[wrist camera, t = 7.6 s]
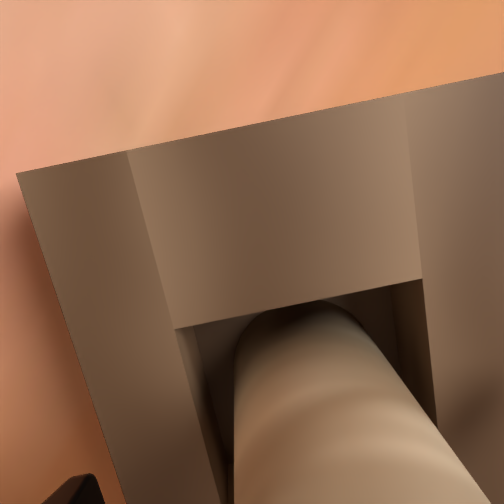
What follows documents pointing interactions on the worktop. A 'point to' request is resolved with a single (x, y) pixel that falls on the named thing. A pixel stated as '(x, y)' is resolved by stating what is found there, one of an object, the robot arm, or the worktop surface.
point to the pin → (333, 419)
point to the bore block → (283, 271)
